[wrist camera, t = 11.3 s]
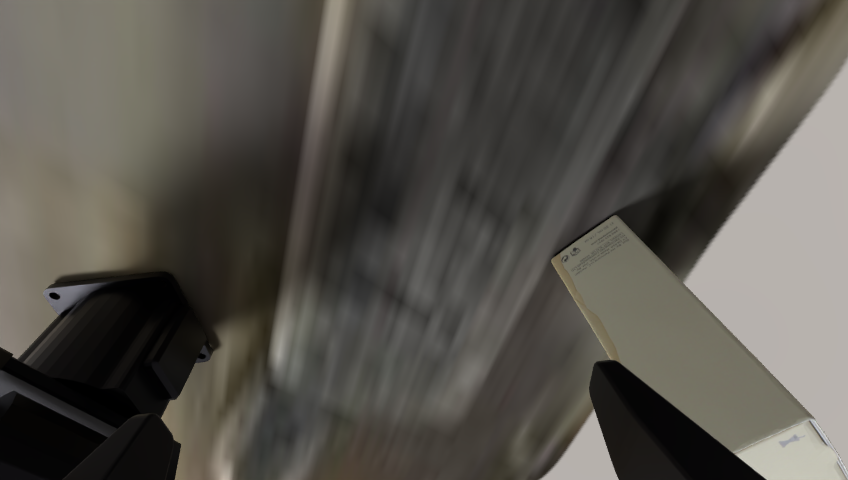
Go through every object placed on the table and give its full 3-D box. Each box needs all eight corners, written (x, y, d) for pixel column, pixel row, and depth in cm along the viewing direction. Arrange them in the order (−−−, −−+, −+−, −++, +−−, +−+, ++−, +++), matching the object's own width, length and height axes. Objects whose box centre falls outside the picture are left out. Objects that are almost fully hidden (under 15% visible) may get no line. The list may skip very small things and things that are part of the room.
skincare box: (547, 257, 23) (671, 479, 13) (617, 209, 22) (817, 415, 12) (600, 315, 26) (736, 534, 16) (666, 275, 25) (860, 488, 15)
